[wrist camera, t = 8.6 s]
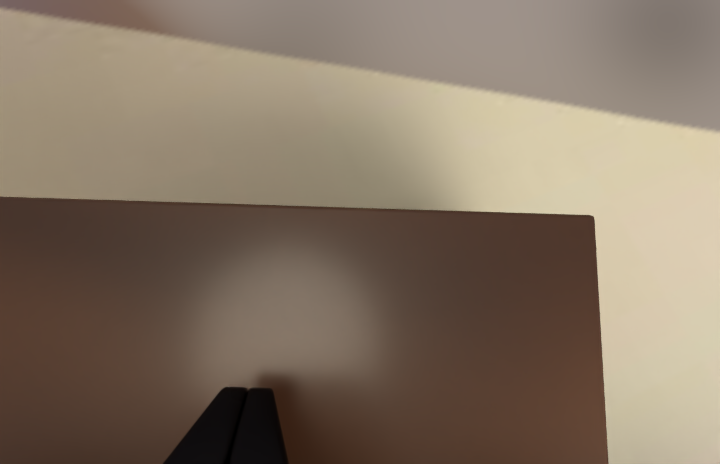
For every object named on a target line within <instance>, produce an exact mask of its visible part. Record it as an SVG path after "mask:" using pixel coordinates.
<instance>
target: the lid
mask: <svg viewBox="0 0 720 464" xmlns="http://www.w3.org/2000/svg"><path fill="white" fill-rule="evenodd" d="M224 387H245V388H247V389H248V390H249V389H250V388H252V387H262V388H271V389H272V390H273V392H274V396H275V401H276V405H277V410H278V415H279V419H280V424H281V429H282V433H283V438H284V443H285V447H286V452H287V457H288V461H289V464H608V449H607V432H606V415H605V397H604V380H603V362H602V345H601V327H600V310H599V292H598V275H597V258H596V240H595V223H594V217H593V216H590V215H567V214H535V213H504V212H472V211H440V210H409V209H377V208H345V207H314V206H282V205H251V204H219V203H187V202H156V201H124V200H93V199H61V198H29V197H0V464H163V463H164V461H165V460H166V459H167V457H168V456H169V455H170V454H171V452H172V451H173V450H174V449H175V447H176V446H177V445H178V444H179V442H180V441H181V440H182V438H183V437H184V436H185V435H186V433H187V432H188V431H189V430H190V428H191V427H192V426H193V425H194V423H195V422H196V421H197V419H198V418H199V417H200V416H201V414H202V413H203V412H204V411H205V409H206V408H207V407H208V406H209V404H210V403H211V402H212V400H213V399H214V398H215V397H216V395H217V394H218V393H219V392H220V390H221V389H223V388H224Z"/></svg>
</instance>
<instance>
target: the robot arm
mask: <svg viewBox="0 0 720 464" xmlns="http://www.w3.org/2000/svg"><path fill="white" fill-rule="evenodd" d="M163 464H289V461H288V457H287V452H286V447H285V443H284V438H283V433H282V429H281V424H280V419H279V415H278V410H277V405H276V401H275V396H274V392H273V390H272V389H271V388H262V387H252V388H250V389H249V390H248V389H247V388H245V387H224V388H223V389H221V390H220V392H219V393H218V394H217V395H216V397H215V398H214V399H213V400H212V402H211V403H210V404H209V406H208V407H207V408H206V409H205V411H204V412H203V413H202V414H201V416H200V417H199V418H198V419H197V421H196V422H195V423H194V425H193V426H192V427H191V428H190V430H189V431H188V432H187V433H186V435H185V436H184V437H183V438H182V440H181V441H180V442H179V444H178V445H177V446H176V447H175V449H174V450H173V451H172V452H171V454H170V455H169V456H168V457H167V459H166V460H165V461H164V463H163Z"/></svg>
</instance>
